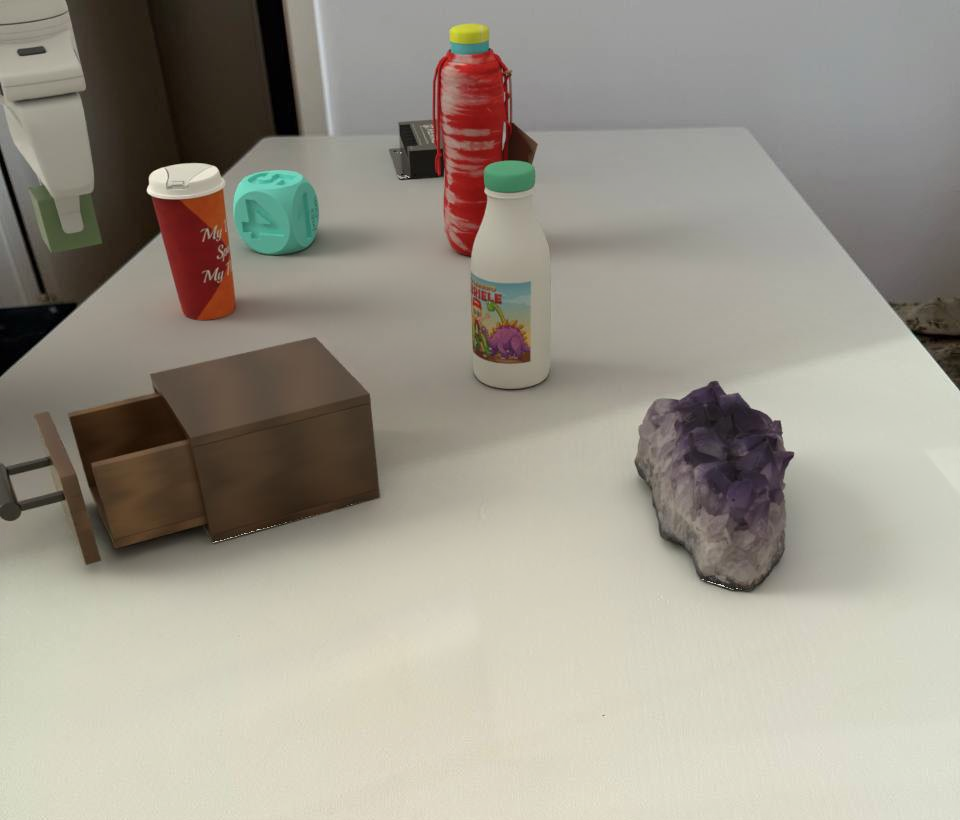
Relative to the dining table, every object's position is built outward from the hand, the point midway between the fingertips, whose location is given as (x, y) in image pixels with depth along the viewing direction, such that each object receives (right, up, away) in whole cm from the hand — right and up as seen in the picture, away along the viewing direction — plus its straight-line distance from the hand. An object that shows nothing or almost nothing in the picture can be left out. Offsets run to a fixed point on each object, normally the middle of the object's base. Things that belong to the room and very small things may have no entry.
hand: (66, 221), depth 103 cm
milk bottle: (+41, -12, +10) cm, 44 cm away
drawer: (+9, -28, -10) cm, 31 cm away
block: (0, -1, +1) cm, 2 cm away
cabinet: (+20, -25, -5) cm, 32 cm away
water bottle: (+39, +11, +38) cm, 56 cm away
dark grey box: (+32, +33, +66) cm, 81 cm away
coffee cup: (+7, -1, +26) cm, 27 cm away
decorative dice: (+12, +12, +42) cm, 45 cm away
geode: (+57, -29, -11) cm, 65 cm away
